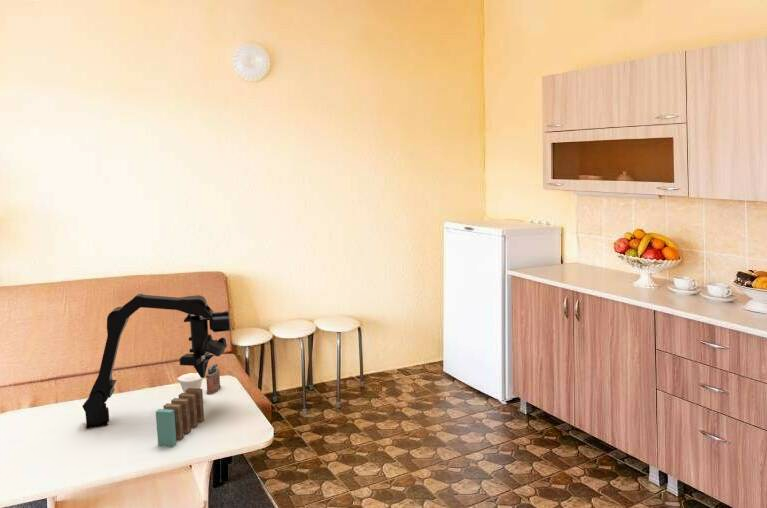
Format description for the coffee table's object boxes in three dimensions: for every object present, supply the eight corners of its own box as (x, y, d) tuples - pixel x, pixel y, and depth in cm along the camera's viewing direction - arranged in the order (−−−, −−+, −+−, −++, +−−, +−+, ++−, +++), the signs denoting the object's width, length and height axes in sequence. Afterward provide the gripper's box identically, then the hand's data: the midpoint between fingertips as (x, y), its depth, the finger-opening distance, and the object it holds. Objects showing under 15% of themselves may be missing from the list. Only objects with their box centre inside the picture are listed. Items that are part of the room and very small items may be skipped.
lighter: (212, 394, 226) (211, 369, 225) (204, 394, 227) (203, 368, 225) (222, 387, 234) (221, 362, 233) (214, 386, 235) (213, 361, 233)
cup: (178, 400, 222) (176, 373, 220) (205, 396, 224) (203, 370, 223) (178, 409, 213) (176, 381, 212) (205, 405, 216) (203, 378, 214)
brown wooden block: (187, 434, 192) (185, 401, 191) (173, 433, 193) (171, 400, 192) (190, 431, 194) (188, 398, 193) (176, 430, 195) (174, 398, 194)
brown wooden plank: (194, 428, 197) (192, 396, 195) (180, 427, 198) (178, 395, 196) (197, 425, 199) (195, 393, 197) (183, 424, 200) (181, 392, 198)
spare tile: (173, 447, 184) (170, 412, 182) (158, 445, 185) (155, 411, 183) (176, 444, 186) (174, 409, 184) (161, 442, 187) (159, 408, 185)
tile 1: (201, 422, 201) (199, 391, 200) (187, 421, 202) (185, 390, 201) (204, 420, 203) (202, 388, 202) (190, 419, 204) (188, 388, 203)
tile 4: (180, 440, 188) (178, 406, 187) (165, 439, 189) (163, 405, 187) (183, 437, 190) (181, 404, 188) (169, 436, 191) (166, 403, 189)
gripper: (208, 341, 194) (211, 388, 197) (233, 326, 212) (236, 369, 215) (176, 340, 197) (180, 386, 199) (204, 325, 215) (207, 368, 217)
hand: (202, 377), depth 207 cm, fingers closed
